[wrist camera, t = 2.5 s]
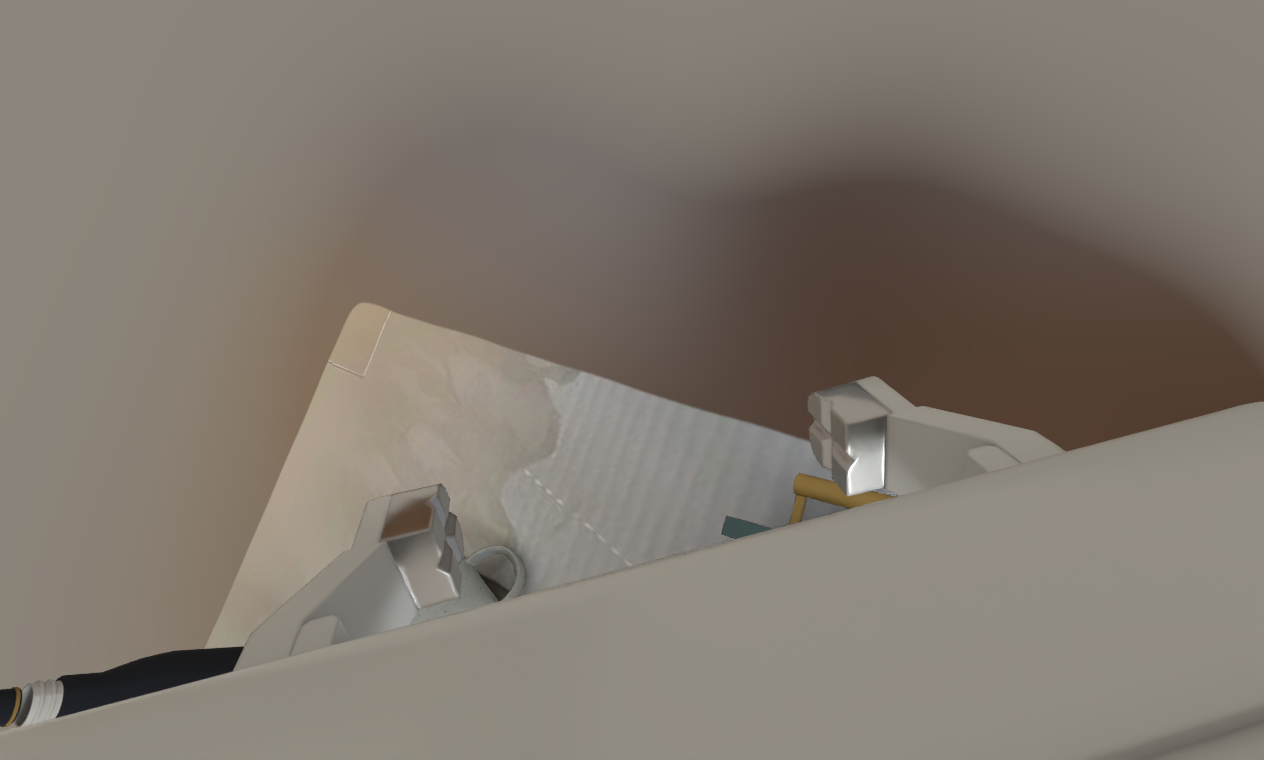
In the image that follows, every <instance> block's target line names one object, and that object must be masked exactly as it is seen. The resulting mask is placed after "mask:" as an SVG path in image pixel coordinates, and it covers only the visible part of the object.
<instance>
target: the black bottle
mask: <svg viewBox="0 0 1264 760" xmlns="http://www.w3.org/2000/svg"><path fill="white" fill-rule="evenodd" d="M243 649H244V647H229V648H212V649H196V650H180V651H171V652H167V653H162V654H157V655H153V656H150V657H145V658H141V659H138V660H136V661H133V662H130V663H127V664H124V665H121V666H119V667H116V668H113V669H110V670H107V671H105V672H101V673H90V674H77V675H65V676H61V677H60V678H58V679H57V680H56V681H54V680H51V679H50V680H48V681H46V682H43V681H40V680H38V681H36V682H35V683H29V684H27V685H26V686H25V687H24V689H23V690H21V689H20V688H18V687H13V688H11V689H2V690H0V726H1V727H7V726H9V725H10V724H12V723H13V722H14V723H15V726H16V727H22V726H26V725H30V724H34V723H38V722H42V721H46V720H51V719H55V718H59V717H62V716H66V715H70V714H74V713H78V712H81V711H85V710H89V709H93V708H97V707H100V706H104V705H108V704H112V703H116V702H119V701H123V700H127V699H131V698H135V697H138V696H142V695H146V694H150V693H153V692H157V691H161V690H165V689H169V688H172V687H176V686H180V685H184V684H188V683H191V682H195V681H199V680H203V679H207V678H210V677H214V676H218V675H222V674H226V673H229V672H233V670H234V668H235V666H236V663H237V661H238V659H239V657H240V655H241V653H242V651H243Z"/></svg>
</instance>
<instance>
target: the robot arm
mask: <svg viewBox="0 0 1264 760" xmlns="http://www.w3.org/2000/svg"><path fill="white" fill-rule="evenodd" d="M808 411H809V412H810V413H811V415H812V416H813V417H814V420H813V422H812V424H811V425H810V427H809V436H810V443H811V446H812V450H813V453H814V455H815V457H816V459H817V460H818V462H819V463H820V464H821V466H822V467H824V468H827V469H830V470H832V479H833V480H834V481H835V483H836V484H837V485H838V486H839V487H840V489H841V490H842V491H843V492H844V493H845V495H846V496H847V497H848V496H852V495H856V494H860V493H865V492H869V491H873V490H878V489H882V488H885V490H887V491H890V492H892V493H894V494H896V495H898V496H896V497H893V498H889V499H885V500H881V501H878V502H874V503H870V504H866V505H862V506H859V507H855V508H851V509H847V510H843V511H840V512H836V513H832V514H828V515H824V516H821V517H817V518H813V519H809V520H806V521H802V522H798V523H794V524H790V525H787V526H783V527H779V528H775V529H771V530H768V531H764V532H760V533H756V534H753V535H749V536H745V537H741V538H737V539H734V540H730V541H726V542H722V543H718V544H715V545H711V546H707V547H703V548H700V549H696V550H692V551H688V552H684V553H681V554H677V555H673V556H669V557H665V558H662V559H658V560H654V561H650V562H646V563H643V564H639V565H635V566H631V567H628V568H624V569H620V570H616V571H612V572H609V573H605V574H601V575H597V576H593V577H590V578H586V579H582V580H578V581H574V582H571V583H567V584H563V585H559V586H556V587H552V588H548V589H544V590H540V591H537V592H533V593H529V594H525V595H521V596H518V597H514V598H510V599H506V600H502V601H499V602H495V603H491V604H487V605H484V606H480V607H476V608H472V609H468V610H465V611H461V612H457V613H453V614H449V615H446V616H442V617H438V618H434V619H430V620H427V621H423V622H419V623H415V624H411V625H410V623H411V622H412V621H413V619H414V618H415V616H416V615H417V613H418V610H420V609H424V608H427V607H430V606H434V605H437V604H441V603H444V602H448V601H451V600H455V599H458V598H460V590H461V580H462V573H461V571H460V568H459V564H460V563H461V561H462V560H463V558H464V544H463V535H462V531H461V528H460V524H459V521H458V519H457V516H456V515H454V514H452V513H451V512H449V505H450V498H449V496H448V493H447V491H446V488H445V487H444V486H443V485H442V484H436V485H432V486H427V487H423V488H418V489H414V490H410V491H405V492H401V493H396V494H391V495H387V496H383V497H379V498H375V499H372V500H370V501H368V502H367V504H366V507H365V510H364V513H363V516H362V519H361V522H360V524H359V527H358V530H357V533H356V536H355V539H354V542H353V545H352V548H351V550H347V551H344V552H343V553H341V554H340V555H339V556H338V557H337V558H336V559H335V560H334V561H332V562H331V563H330V564H329V565H328V566H327V567H326V568H324V569H323V570H322V571H321V572H320V573H319V574H318V575H317V576H315V577H314V578H313V579H312V580H311V581H310V582H309V583H308V584H306V585H305V586H304V587H303V588H302V589H301V590H300V591H298V592H297V593H296V594H295V595H294V596H293V597H292V598H291V599H289V600H288V601H287V602H286V603H285V604H284V605H283V606H282V607H280V608H279V609H278V610H277V611H276V612H275V613H274V614H272V615H271V616H270V617H269V618H268V619H267V620H266V621H265V622H263V623H262V624H261V625H260V626H259V627H258V628H257V629H256V630H254V631H253V632H252V633H251V634H250V636H249V638H248V640H247V642H246V644H245V646H244V649H243V651H242V653H241V655H240V657H239V659H238V661H237V663H236V666H235V668H234V670H233V672H229V673H226V674H222V675H218V676H214V677H210V678H207V679H203V680H199V681H195V682H191V683H188V684H184V685H180V686H176V687H172V688H169V689H165V690H161V691H157V692H153V693H150V694H146V695H142V696H138V697H135V698H131V699H127V700H123V701H119V702H116V703H112V704H108V705H104V706H100V707H97V708H93V709H89V710H85V711H81V712H78V713H74V714H70V715H66V716H62V717H59V718H55V719H51V720H46V721H42V722H38V723H34V724H30V725H26V726H22V727H17V728H14V729H9V730H6V731H2V732H0V760H1264V402H1256V403H1251V404H1246V405H1241V406H1237V407H1233V408H1229V409H1226V410H1223V411H1219V412H1215V413H1211V414H1207V415H1204V416H1200V417H1196V418H1192V419H1189V420H1185V421H1181V422H1178V423H1173V424H1170V425H1166V426H1162V427H1158V428H1155V429H1151V430H1147V431H1143V432H1140V433H1136V434H1132V435H1128V436H1125V437H1121V438H1117V439H1113V440H1109V441H1106V442H1101V443H1098V444H1094V445H1090V446H1087V447H1083V448H1079V449H1075V450H1071V451H1068V452H1066V451H1064V450H1063V449H1061V448H1060V447H1058V446H1057V445H1055V444H1054V443H1052V442H1051V441H1049V440H1048V439H1046V438H1045V437H1043V436H1042V435H1040V434H1039V433H1037V432H1036V431H1032V430H1028V429H1023V428H1019V427H1015V426H1009V425H1006V424H1001V423H997V422H992V421H987V420H983V419H979V418H975V417H970V416H965V415H961V414H957V413H952V412H948V411H943V410H939V409H934V408H930V407H925V406H921V407H915V406H914V405H913V404H911V403H910V402H909V401H907V400H906V399H905V398H904V397H902V396H901V395H900V394H898V393H897V392H896V391H894V390H893V389H892V388H891V387H889V386H888V385H887V384H886V383H884V382H883V381H882V380H881V379H879V378H878V377H874V376H872V377H868V378H865V379H861V380H858V381H854V382H851V383H847V384H844V385H840V386H836V387H833V388H829V389H825V390H822V391H818V392H814V393H811V394H809V397H808Z"/></svg>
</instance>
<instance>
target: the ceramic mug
mask: <svg viewBox="0 0 1264 760" xmlns="http://www.w3.org/2000/svg"><path fill="white" fill-rule="evenodd" d="M499 553H504V554H505V555H507V556H508V557H509V559H510V560H511V562H512V563H513V565H514V572H515V573H516V574H515V575H516V580H515V582H514V584H513V587H512V588H511V590H510V591H509V592H508V594H507V595H506V597H504V598H503V599H502V600H506V599H510V598H514V597H518V596H519V595H520V593H521V591H522V589H523V587H524V584H525V577H526V576H525V568H524V565H523V563H522V561H521V560H520V558H519V557H518V556H517V555H516V554H515V553H514V552H513V551H512V550H511V549H510V548H508V547H506V546H502V545H494V546H489V547H485V548H483V549H480V550H478V551H477V552H475V553H473V554H472V555H470V556H469V557H467V558H466V557H464V558H463V560H462V561H461V563H460V564H459V568H460V571H461V573H462V580H461V590H460V598H458V599H455V600H451V601H448V602H444V603H441V604H437V605H434V606H430V607H427V608H424V609H420V610H418V613H417V615H416V616H415V618H414V619H413V621H412V622H411V623H410V625H411V624H415V623H419V622H423V621H427V620H430V619H434V618H438V617H442V616H446V615H449V614H453V613H457V612H461V611H465V610H468V609H472V608H476V607H480V606H484V605H487V604H491V603H495V602H499V600H498V599H497V598H496V597H495V595H494V594H493V593H492V591H491V590H490V589H489V588H488V587H487V585H486V584H485V582H484V581H483V579H482V578H481V576H480V575H479V573H478V572H477V571H476V569H475V568H474V566H475V565H476V564H477V563H479V562H480V561H482V560H483V559H485V558H487V557H489V556H491V555H494V554H499ZM502 600H501V601H502Z"/></svg>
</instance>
